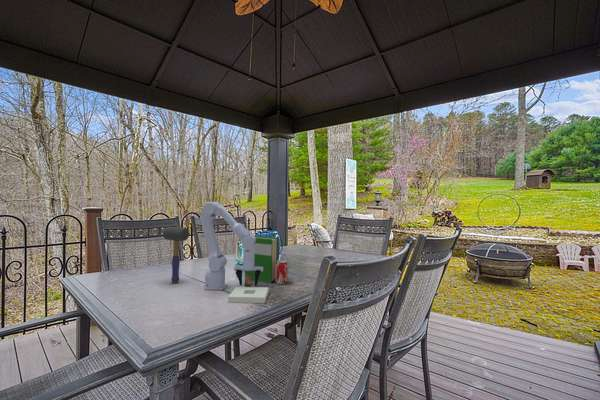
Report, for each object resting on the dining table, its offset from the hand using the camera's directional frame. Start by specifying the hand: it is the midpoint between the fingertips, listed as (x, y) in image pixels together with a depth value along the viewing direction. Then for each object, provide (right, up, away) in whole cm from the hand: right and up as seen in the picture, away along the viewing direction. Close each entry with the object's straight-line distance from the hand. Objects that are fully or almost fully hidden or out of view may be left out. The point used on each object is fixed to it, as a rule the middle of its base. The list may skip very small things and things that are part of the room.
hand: (248, 285), depth 140 cm
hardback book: (+4, -2, +17) cm, 18 cm away
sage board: (+3, -2, -12) cm, 12 cm away
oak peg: (0, -2, 0) cm, 2 cm away
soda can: (+16, -3, +11) cm, 19 cm away
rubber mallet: (-41, -2, +9) cm, 42 cm away
